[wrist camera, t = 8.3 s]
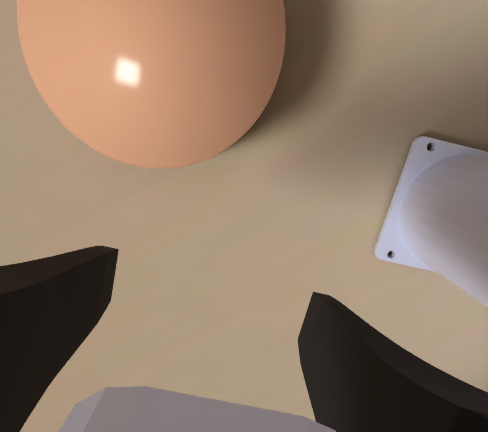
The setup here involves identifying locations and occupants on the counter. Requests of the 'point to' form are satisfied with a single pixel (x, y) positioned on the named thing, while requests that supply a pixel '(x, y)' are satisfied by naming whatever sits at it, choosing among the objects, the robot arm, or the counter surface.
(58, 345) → the robot arm
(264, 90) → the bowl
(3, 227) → the counter surface
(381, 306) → the counter surface
